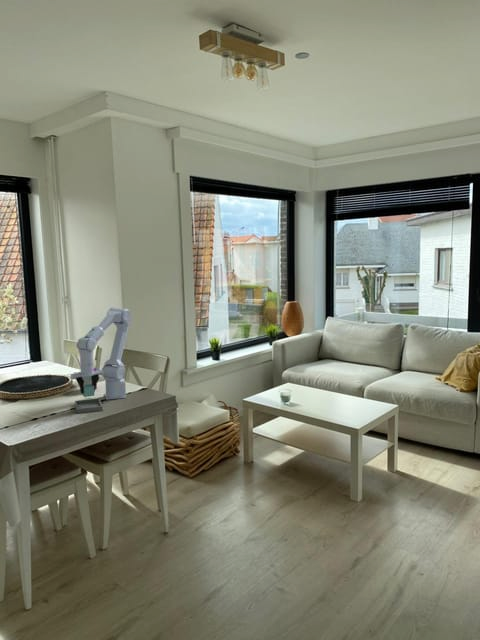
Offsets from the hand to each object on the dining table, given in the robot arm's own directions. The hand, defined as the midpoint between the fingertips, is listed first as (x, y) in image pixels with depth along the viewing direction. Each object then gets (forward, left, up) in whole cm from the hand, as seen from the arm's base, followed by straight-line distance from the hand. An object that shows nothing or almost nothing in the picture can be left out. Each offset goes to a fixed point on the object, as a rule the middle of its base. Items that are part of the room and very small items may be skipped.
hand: (87, 391), depth 223 cm
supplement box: (-3, -26, -8) cm, 27 cm away
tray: (0, 0, -8) cm, 8 cm away
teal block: (0, 0, -1) cm, 1 cm away
